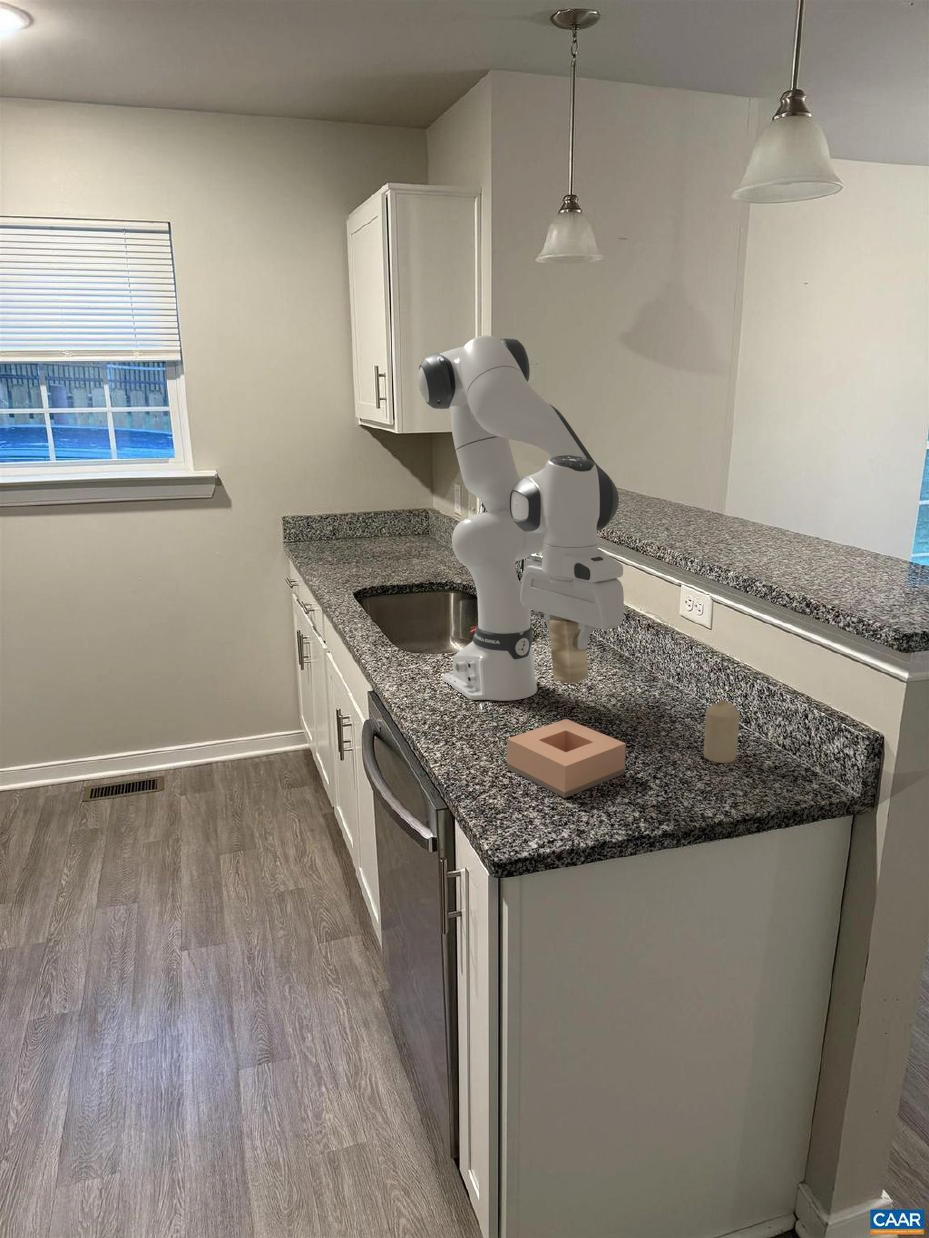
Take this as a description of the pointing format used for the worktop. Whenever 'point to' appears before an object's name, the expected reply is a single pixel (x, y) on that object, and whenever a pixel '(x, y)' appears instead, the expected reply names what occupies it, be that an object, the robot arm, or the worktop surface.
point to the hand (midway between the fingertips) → (568, 644)
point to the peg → (567, 652)
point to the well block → (566, 757)
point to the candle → (721, 732)
